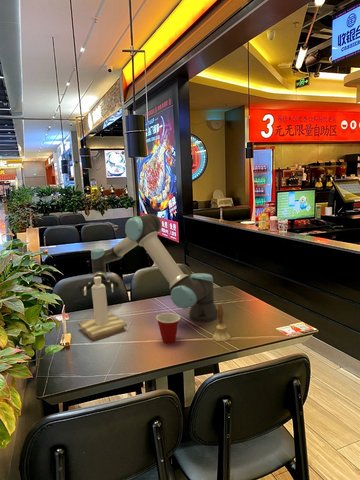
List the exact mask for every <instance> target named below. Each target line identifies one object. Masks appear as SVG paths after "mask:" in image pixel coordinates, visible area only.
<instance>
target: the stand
mask: <svg viewBox="0 0 360 480" xmlns="http://www.w3.org/2000/svg"><path fill="white" fill-rule="evenodd" d="M108 318H109V323H107V324H105V325H96V324H95V317H94V318H90V319H87V320H83V321H79V322H77V325H78V327H79V328H80V329H81V331H82V332H83V334H85V335H86V336H88V337H89V338H90V339H92V341H97V340H101V339H104V338H107V337H110V336H113V335H117V334H119V333H122V332H125V327H127V326H128V323H127V322H126V321H124V320H123V319H121V318H119V317H117V316H116V315H114V314H113V313H112V312H111V313H108Z"/></svg>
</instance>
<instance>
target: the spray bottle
mask: <svg viewBox="0 0 360 480" xmlns="http://www.w3.org/2000/svg"><path fill="white" fill-rule="evenodd" d="M94 282H95V285H93V286H92V287H91V296H92V297H91V299H92V305H93V316H94V318H95V324H96V325H105V324H107V323H109V318H108V314H109V310H108V300H107V292H106V291H107V287H105V285H104V284H101V277H94Z"/></svg>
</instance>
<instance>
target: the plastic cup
mask: <svg viewBox="0 0 360 480" xmlns="http://www.w3.org/2000/svg"><path fill="white" fill-rule="evenodd" d="M155 319H156V321H157V324H158V328H159V329H158V330H159V333H160V336H161V340H162V343H163V344H165V345H173V344H175V342H176V339H177V332H178V325H179V321H180V319H181V315H179V314H177V313H172V312H164V313H163V312H161V313H160V314H158V315H156V317H155Z"/></svg>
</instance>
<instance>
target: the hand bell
mask: <svg viewBox="0 0 360 480" xmlns="http://www.w3.org/2000/svg"><path fill="white" fill-rule="evenodd" d="M216 309H217V312H218V323H219V324H217V325H216V327H215V333H214V334H213V335H212V340H213V341H216V342H227V341H229V340H231V337H232V336H231V335H230V333H228V330H227V326H226V325H225V324H224V322H223V317H224V308H223V305H222V304H221V303H219V304H218V305H217V308H216Z"/></svg>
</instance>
